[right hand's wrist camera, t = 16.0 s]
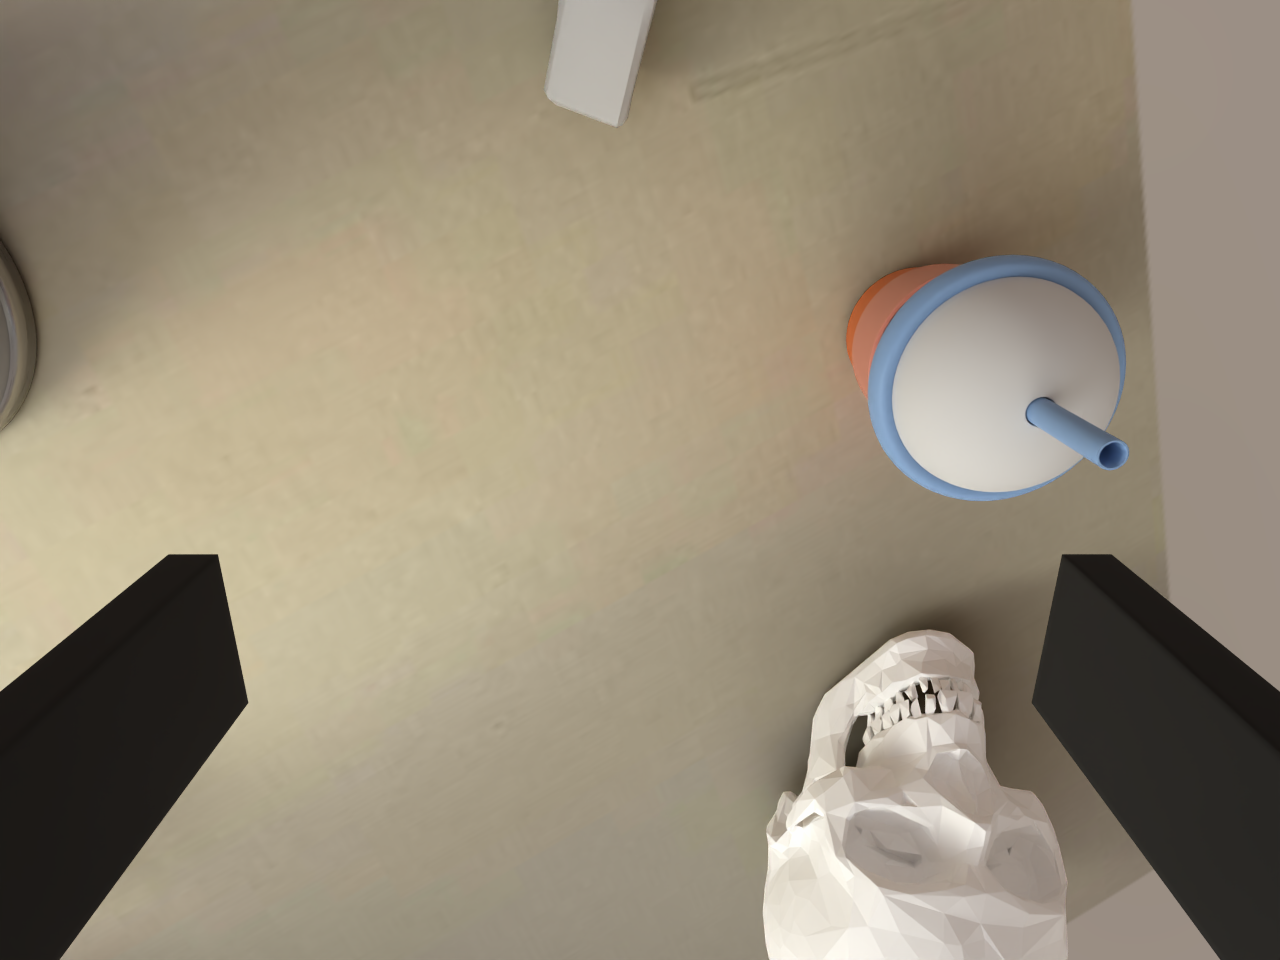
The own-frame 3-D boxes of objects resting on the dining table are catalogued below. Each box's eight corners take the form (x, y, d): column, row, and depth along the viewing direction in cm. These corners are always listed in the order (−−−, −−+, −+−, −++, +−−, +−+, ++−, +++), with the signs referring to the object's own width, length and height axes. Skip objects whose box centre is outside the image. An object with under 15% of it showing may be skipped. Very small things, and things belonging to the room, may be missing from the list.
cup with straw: (1019, 234, 37) (1330, 286, 21) (989, 423, 41) (1235, 601, 24) (822, 233, 37) (971, 285, 21) (807, 423, 41) (925, 601, 24)
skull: (1035, 620, 45) (1216, 842, 30) (944, 915, 52) (1052, 1208, 38) (793, 596, 45) (855, 807, 30) (739, 895, 52) (766, 1180, 38)
